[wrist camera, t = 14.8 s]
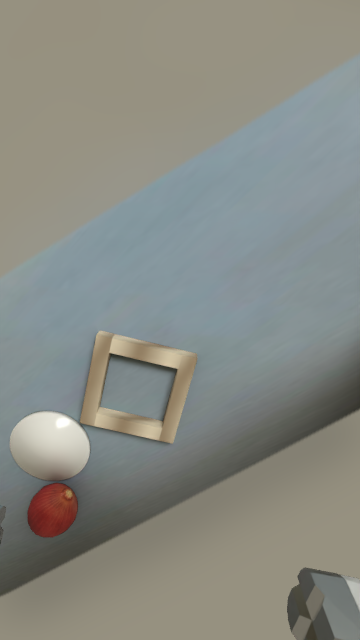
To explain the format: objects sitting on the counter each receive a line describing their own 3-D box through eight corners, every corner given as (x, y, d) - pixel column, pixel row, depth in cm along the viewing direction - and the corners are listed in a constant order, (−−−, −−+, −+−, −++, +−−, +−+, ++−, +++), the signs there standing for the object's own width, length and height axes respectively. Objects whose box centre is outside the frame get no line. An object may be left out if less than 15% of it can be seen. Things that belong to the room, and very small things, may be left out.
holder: (196, 353, 38) (197, 358, 37) (173, 436, 42) (172, 443, 40) (99, 330, 38) (96, 334, 36) (83, 415, 41) (79, 422, 39)
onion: (77, 465, 44) (46, 502, 46) (39, 475, 40) (7, 515, 42) (97, 505, 41) (63, 543, 43) (58, 521, 37) (22, 562, 39)
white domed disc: (96, 420, 41) (95, 423, 40) (83, 484, 44) (82, 487, 43) (16, 402, 40) (14, 405, 40) (8, 468, 43) (5, 471, 43)
